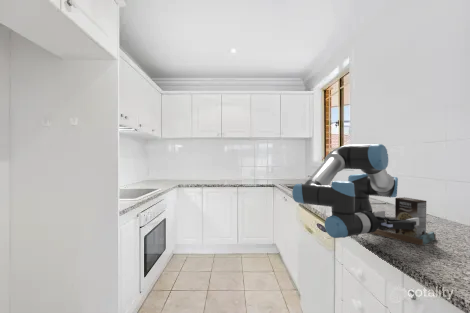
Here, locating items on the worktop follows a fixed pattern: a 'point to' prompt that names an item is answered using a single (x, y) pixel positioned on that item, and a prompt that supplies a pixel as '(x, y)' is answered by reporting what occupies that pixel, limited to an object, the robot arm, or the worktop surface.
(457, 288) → the worktop surface
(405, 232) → the coffee box
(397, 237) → the rectangular frame
